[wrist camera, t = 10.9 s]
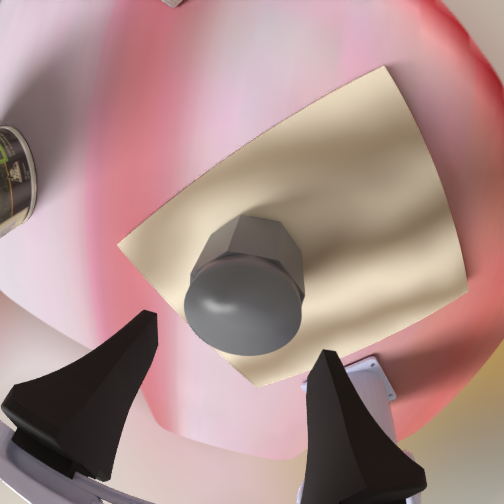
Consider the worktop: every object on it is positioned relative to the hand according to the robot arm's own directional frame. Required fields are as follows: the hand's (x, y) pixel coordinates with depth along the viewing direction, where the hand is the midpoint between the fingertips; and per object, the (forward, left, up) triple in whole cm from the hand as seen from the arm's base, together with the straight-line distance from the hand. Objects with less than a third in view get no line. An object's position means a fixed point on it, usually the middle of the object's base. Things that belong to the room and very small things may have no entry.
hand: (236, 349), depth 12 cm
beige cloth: (-3, -3, -9) cm, 10 cm away
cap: (0, 0, -7) cm, 7 cm away
